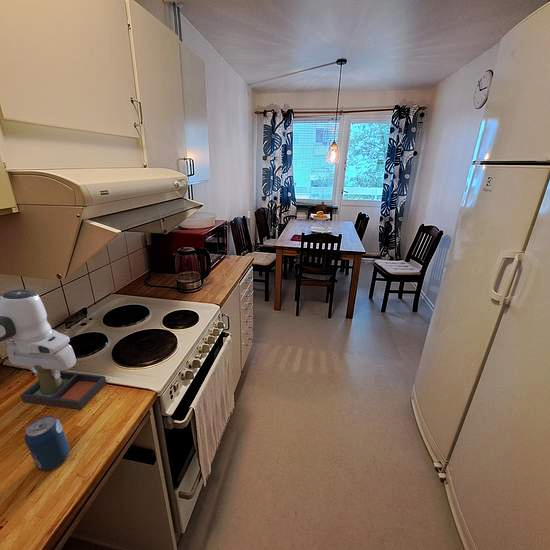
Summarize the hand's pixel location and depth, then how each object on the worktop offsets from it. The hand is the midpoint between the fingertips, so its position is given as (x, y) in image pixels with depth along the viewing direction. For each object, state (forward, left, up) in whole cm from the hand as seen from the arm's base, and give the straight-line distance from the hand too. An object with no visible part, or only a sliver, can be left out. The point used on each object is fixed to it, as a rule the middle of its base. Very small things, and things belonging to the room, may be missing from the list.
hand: (48, 376), depth 91 cm
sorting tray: (+5, 0, -6) cm, 8 cm away
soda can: (+20, -20, -6) cm, 29 cm away
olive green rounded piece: (0, 0, -5) cm, 5 cm away
